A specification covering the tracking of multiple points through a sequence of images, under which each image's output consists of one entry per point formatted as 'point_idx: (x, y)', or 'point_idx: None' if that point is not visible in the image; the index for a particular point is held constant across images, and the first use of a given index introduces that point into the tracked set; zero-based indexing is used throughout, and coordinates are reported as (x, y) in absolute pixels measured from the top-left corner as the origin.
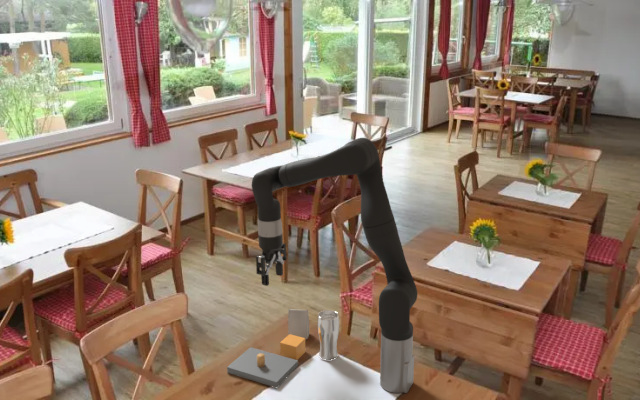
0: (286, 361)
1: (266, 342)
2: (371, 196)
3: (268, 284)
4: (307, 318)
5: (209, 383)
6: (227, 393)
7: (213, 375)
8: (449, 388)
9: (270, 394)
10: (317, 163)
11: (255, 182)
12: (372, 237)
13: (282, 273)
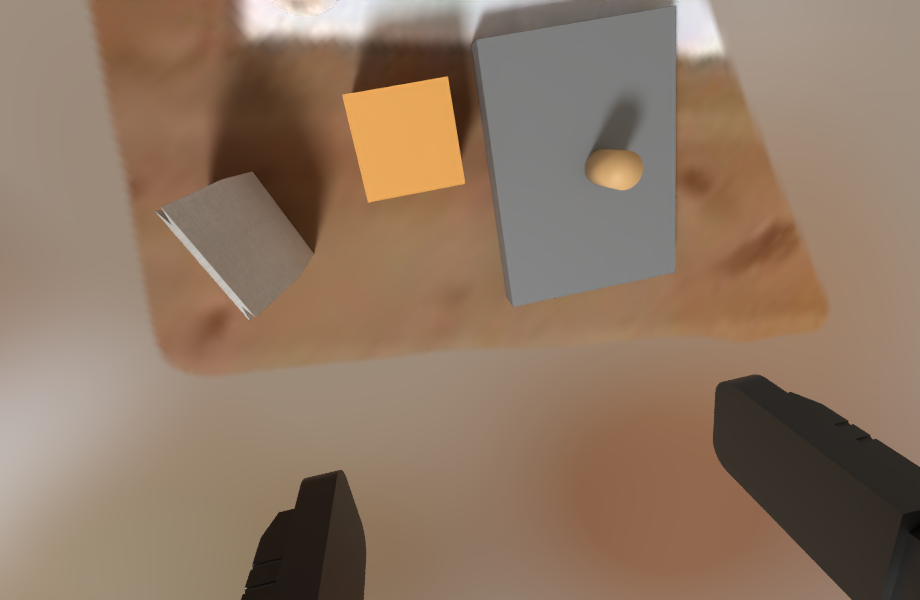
0: (516, 86)
1: (408, 303)
2: None
3: (744, 379)
4: (199, 191)
5: (740, 265)
6: (765, 166)
7: (695, 291)
8: None
9: (707, 6)
10: None
11: None
12: None
13: (314, 490)
